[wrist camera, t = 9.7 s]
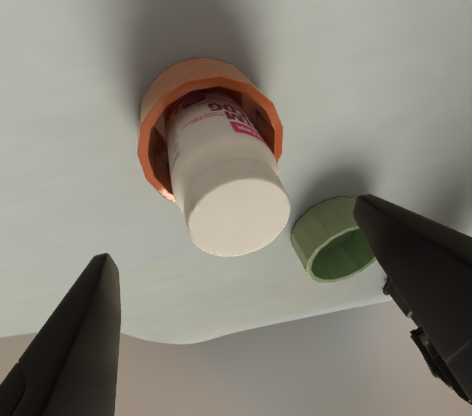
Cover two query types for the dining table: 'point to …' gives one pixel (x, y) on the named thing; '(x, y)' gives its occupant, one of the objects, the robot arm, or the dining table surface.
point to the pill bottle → (223, 175)
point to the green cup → (331, 241)
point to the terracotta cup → (180, 84)
